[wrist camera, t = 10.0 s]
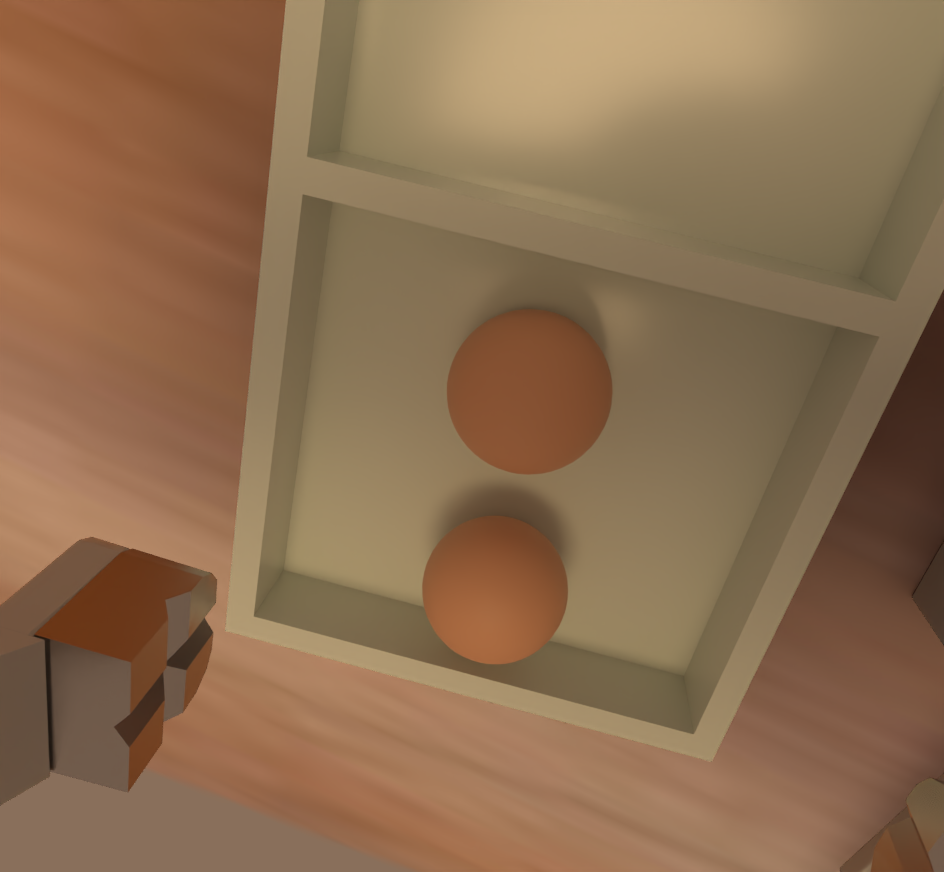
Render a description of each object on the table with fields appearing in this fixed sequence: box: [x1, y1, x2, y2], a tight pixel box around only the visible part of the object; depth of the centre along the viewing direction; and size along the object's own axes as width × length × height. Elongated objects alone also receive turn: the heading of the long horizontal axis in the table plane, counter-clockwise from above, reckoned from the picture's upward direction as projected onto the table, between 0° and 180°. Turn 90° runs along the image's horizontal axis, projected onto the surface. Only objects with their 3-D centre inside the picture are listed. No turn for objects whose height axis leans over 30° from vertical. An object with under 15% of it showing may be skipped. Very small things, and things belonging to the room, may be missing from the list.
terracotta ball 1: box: [447, 309, 612, 475], centre depth 18 cm, size 4×4×4 cm
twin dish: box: [225, 0, 944, 762], centre depth 18 cm, size 15×26×3 cm, turn 168°
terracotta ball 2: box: [422, 516, 568, 664], centre depth 21 cm, size 4×4×4 cm
